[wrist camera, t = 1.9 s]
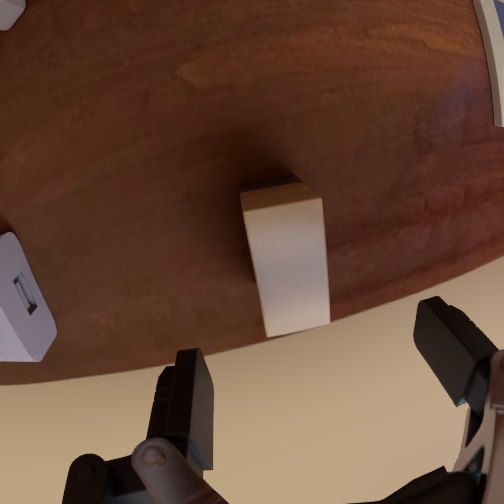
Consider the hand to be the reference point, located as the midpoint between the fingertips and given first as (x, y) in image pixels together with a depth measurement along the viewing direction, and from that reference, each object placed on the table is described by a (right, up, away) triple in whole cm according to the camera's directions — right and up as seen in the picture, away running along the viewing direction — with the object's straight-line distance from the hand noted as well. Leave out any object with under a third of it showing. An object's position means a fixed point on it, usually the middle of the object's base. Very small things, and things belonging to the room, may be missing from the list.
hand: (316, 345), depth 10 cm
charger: (-26, 0, +9) cm, 28 cm away
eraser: (-1, +4, +9) cm, 10 cm away
